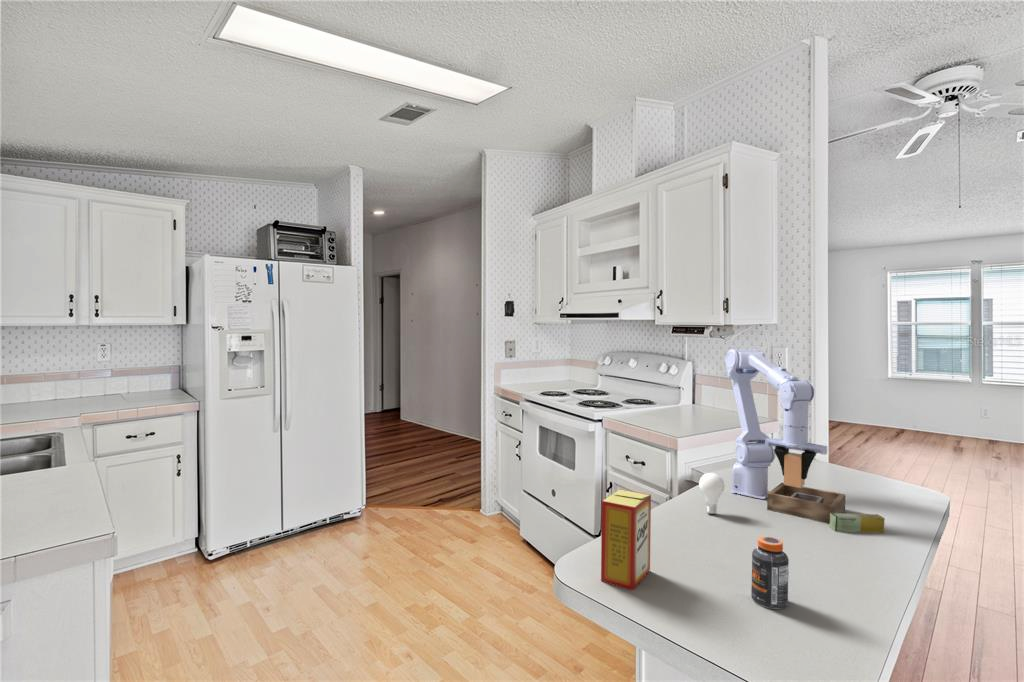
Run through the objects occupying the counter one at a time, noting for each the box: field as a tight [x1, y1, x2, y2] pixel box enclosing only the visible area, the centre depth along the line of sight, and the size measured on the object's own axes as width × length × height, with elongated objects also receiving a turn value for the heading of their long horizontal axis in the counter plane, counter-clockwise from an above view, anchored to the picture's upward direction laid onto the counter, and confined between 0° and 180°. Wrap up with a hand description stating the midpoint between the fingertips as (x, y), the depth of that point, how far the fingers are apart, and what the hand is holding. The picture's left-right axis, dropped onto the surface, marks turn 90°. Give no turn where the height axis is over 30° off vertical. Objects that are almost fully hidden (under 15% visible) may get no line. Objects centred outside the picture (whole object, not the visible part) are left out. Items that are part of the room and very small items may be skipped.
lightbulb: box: [698, 472, 726, 515], centre depth 139 cm, size 6×6×11 cm
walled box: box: [766, 482, 846, 524], centre depth 142 cm, size 16×14×4 cm
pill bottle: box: [750, 535, 790, 610], centre depth 94 cm, size 6×6×11 cm
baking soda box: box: [600, 488, 652, 591], centre depth 103 cm, size 10×6×16 cm
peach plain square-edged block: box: [783, 451, 806, 488], centre depth 138 cm, size 4×4×8 cm
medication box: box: [828, 512, 885, 533], centre depth 128 cm, size 12×3×4 cm, turn 88°
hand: (794, 476), depth 138 cm, fingers closed on peach plain square-edged block, 4 cm apart
